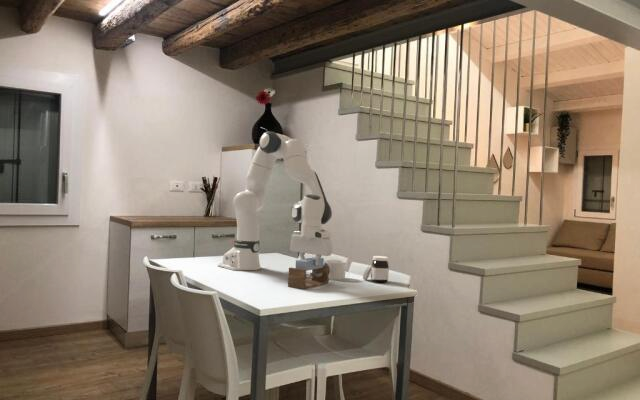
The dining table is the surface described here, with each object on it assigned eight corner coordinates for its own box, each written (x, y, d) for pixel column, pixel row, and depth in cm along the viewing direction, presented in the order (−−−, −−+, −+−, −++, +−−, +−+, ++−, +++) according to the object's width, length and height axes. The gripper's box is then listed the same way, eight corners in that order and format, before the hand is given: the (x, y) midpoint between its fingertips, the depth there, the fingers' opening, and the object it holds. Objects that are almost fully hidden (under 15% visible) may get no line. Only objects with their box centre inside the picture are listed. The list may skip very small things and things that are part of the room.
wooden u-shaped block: (303, 289, 218) (304, 270, 218) (288, 286, 223) (288, 267, 222) (328, 283, 234) (329, 265, 234) (313, 280, 238) (314, 263, 238)
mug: (350, 279, 247) (350, 262, 247) (331, 280, 241) (332, 263, 241) (333, 274, 258) (334, 258, 258) (315, 275, 252) (316, 259, 252)
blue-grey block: (305, 271, 221) (305, 261, 221) (295, 269, 224) (295, 260, 224) (323, 267, 233) (323, 258, 233) (314, 265, 235) (314, 257, 235)
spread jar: (389, 284, 239) (390, 258, 239) (365, 283, 239) (366, 257, 238) (384, 279, 251) (385, 255, 251) (361, 278, 251) (362, 254, 250)
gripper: (287, 230, 231) (286, 261, 231) (326, 234, 220) (325, 267, 220) (296, 229, 236) (295, 260, 237) (334, 234, 225) (333, 266, 225)
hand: (309, 264), depth 228 cm, fingers closed on blue-grey block, 5 cm apart
